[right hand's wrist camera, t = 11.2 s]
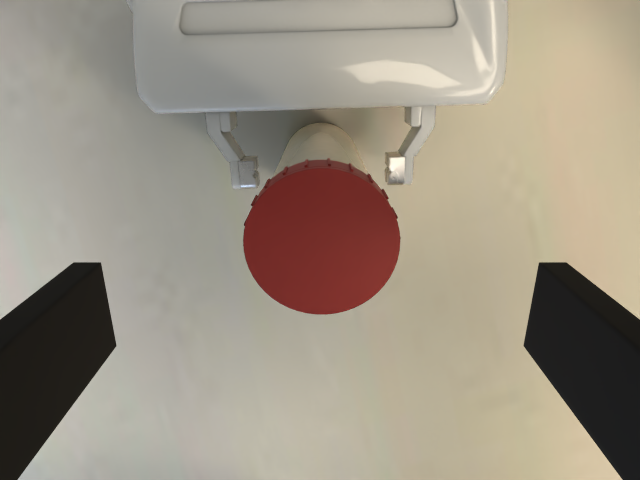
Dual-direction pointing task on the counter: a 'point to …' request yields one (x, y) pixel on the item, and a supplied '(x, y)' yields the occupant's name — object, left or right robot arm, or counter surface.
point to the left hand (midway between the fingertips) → (322, 185)
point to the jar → (320, 147)
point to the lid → (321, 237)
